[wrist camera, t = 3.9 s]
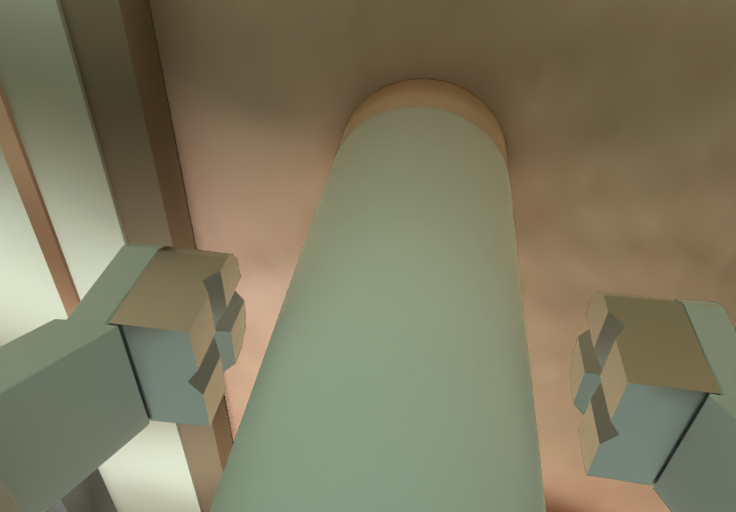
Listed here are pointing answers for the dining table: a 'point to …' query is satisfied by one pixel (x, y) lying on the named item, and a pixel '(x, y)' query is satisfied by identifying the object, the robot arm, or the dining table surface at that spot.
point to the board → (94, 211)
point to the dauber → (399, 330)
